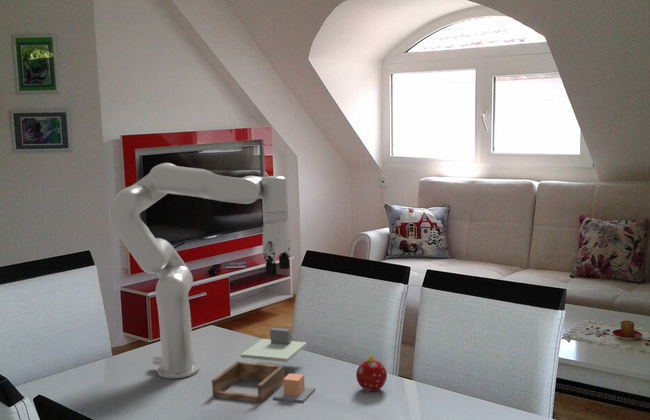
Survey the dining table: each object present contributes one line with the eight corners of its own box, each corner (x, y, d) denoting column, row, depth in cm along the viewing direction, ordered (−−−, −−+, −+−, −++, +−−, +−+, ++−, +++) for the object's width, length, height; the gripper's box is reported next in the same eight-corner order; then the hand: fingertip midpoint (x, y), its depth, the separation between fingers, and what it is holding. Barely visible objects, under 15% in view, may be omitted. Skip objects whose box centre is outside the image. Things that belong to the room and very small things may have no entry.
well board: (212, 396, 201) (211, 379, 201) (238, 377, 215) (237, 361, 215) (262, 402, 196) (261, 385, 195) (284, 382, 210) (284, 365, 209)
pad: (273, 399, 198) (273, 396, 198) (286, 386, 207) (286, 384, 206) (303, 402, 195) (303, 400, 195) (315, 390, 203) (315, 388, 203)
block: (283, 394, 199) (283, 379, 199) (289, 388, 204) (289, 373, 203) (298, 396, 198) (298, 380, 197) (304, 390, 202) (304, 374, 202)
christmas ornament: (350, 391, 201) (349, 357, 200) (367, 382, 208) (366, 348, 207) (376, 398, 196) (375, 363, 195) (392, 388, 203) (392, 354, 202)
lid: (241, 357, 217) (240, 340, 216) (262, 341, 231) (261, 325, 231) (287, 362, 212) (286, 344, 211) (306, 345, 226) (306, 328, 225)
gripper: (276, 212, 225) (278, 265, 228) (251, 221, 209) (254, 278, 212) (298, 212, 223) (300, 266, 225) (275, 221, 207) (277, 279, 209)
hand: (278, 272), depth 218 cm, fingers open, 9 cm apart
